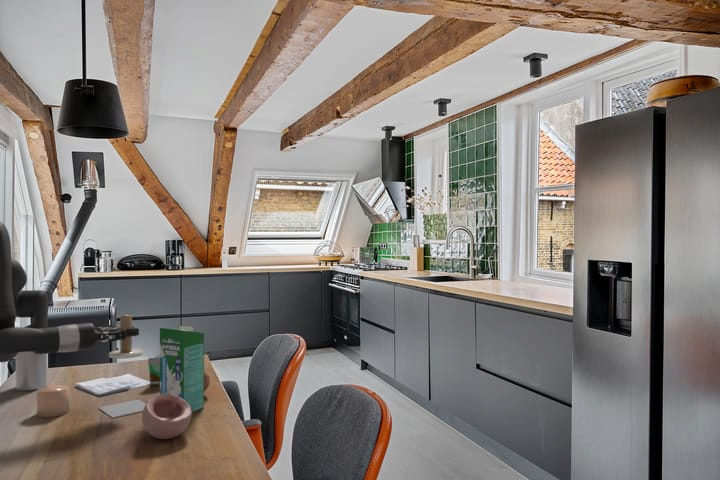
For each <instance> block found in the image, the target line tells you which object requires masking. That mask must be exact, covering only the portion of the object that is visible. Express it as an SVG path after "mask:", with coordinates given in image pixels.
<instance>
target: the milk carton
mask: <svg viewBox="0 0 720 480" xmlns="http://www.w3.org/2000/svg"><path fill="white" fill-rule="evenodd" d="M159 356H160V386H159V394H172V395H176V396H179V397H181V398H182V399H184V400H185V401H186V402H187V403H188V404H189V405H190V407H191V410H192V413H193V412H196V411H198V410H200V409H203V408H205V391H204V371H205V332H201V331H200V332H199V331H194V327H192V326H183V325H180V326H179V329H176V328H168V327H159Z"/></svg>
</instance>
